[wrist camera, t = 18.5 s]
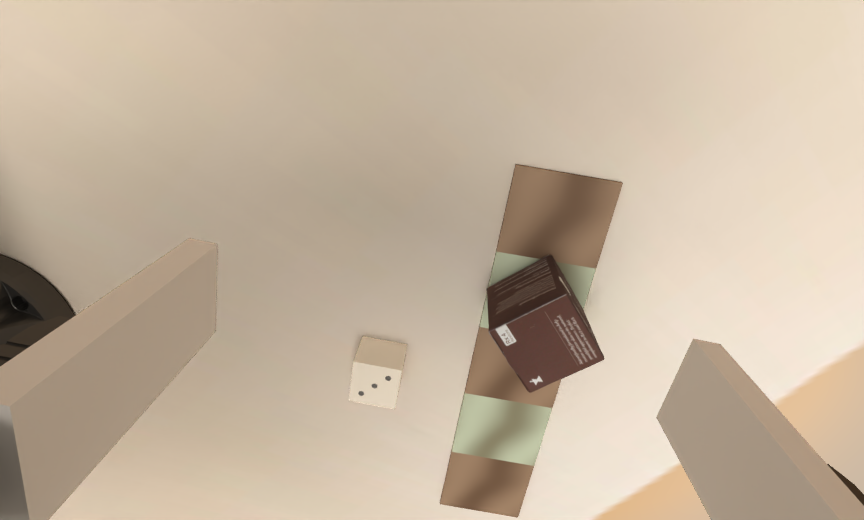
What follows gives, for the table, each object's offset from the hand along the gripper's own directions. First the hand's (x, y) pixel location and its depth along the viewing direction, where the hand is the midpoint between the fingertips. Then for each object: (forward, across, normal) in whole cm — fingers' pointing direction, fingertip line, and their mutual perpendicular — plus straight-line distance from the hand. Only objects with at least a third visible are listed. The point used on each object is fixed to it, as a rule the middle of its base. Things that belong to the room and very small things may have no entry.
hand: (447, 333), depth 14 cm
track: (+25, +9, -17) cm, 32 cm away
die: (+26, -3, -19) cm, 32 cm away
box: (+25, +9, -10) cm, 28 cm away
